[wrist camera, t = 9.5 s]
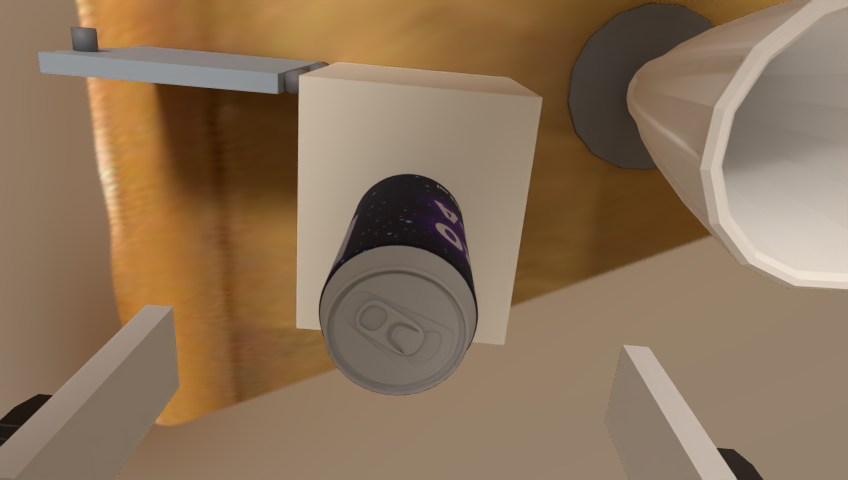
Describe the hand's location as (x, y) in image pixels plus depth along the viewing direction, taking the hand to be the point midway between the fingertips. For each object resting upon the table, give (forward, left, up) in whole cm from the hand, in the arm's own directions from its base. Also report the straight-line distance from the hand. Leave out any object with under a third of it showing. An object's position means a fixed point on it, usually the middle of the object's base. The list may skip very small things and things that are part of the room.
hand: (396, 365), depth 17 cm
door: (-7, -13, -27) cm, 30 cm away
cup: (-7, +16, -28) cm, 32 cm away
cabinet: (0, 0, -27) cm, 27 cm away
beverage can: (0, 0, -15) cm, 15 cm away
